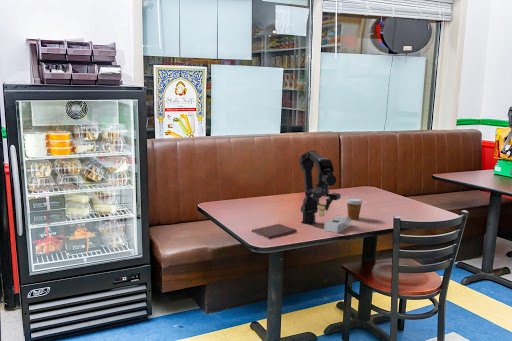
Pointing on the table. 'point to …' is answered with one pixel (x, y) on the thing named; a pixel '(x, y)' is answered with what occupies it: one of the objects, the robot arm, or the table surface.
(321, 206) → the brass pin
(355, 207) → the disposable coffee cup
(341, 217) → the grey white block
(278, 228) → the notebook
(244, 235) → the table surface
